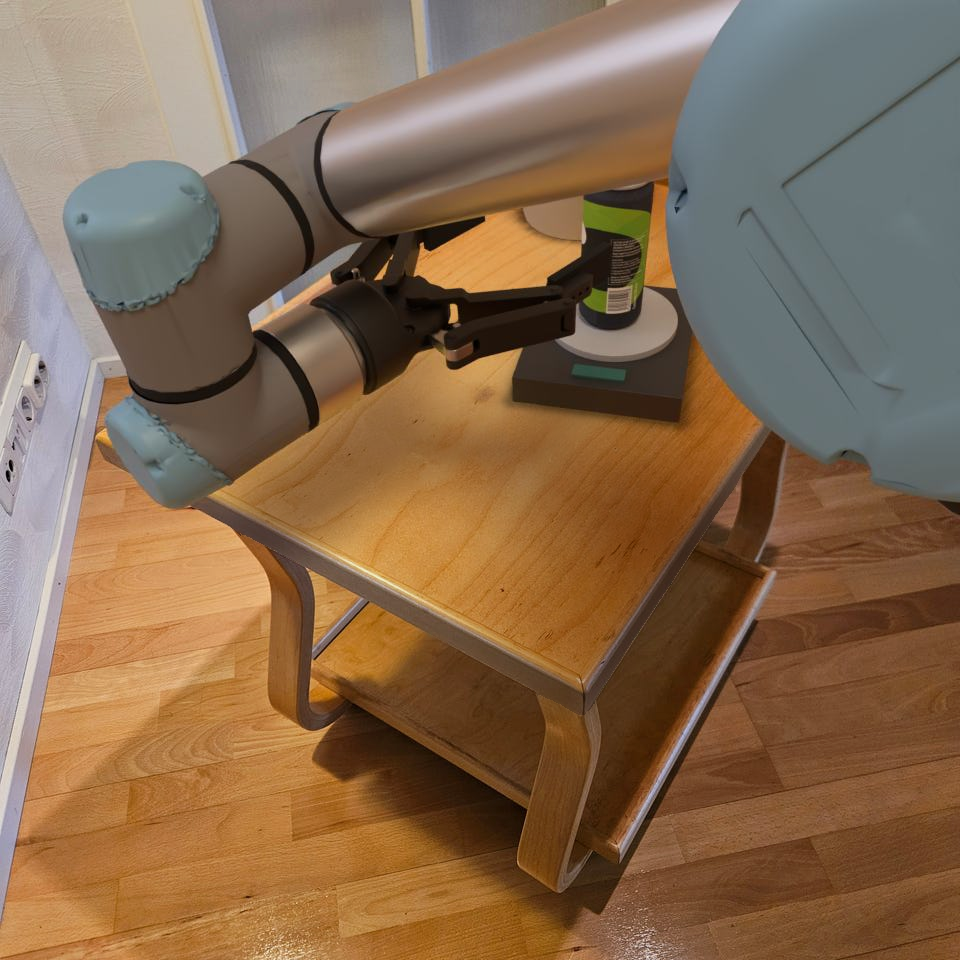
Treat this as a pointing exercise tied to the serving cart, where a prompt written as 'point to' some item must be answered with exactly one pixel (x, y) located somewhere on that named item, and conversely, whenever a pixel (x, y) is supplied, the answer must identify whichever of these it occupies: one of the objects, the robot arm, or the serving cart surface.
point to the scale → (613, 364)
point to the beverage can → (618, 252)
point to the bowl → (557, 218)
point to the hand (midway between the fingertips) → (541, 230)
